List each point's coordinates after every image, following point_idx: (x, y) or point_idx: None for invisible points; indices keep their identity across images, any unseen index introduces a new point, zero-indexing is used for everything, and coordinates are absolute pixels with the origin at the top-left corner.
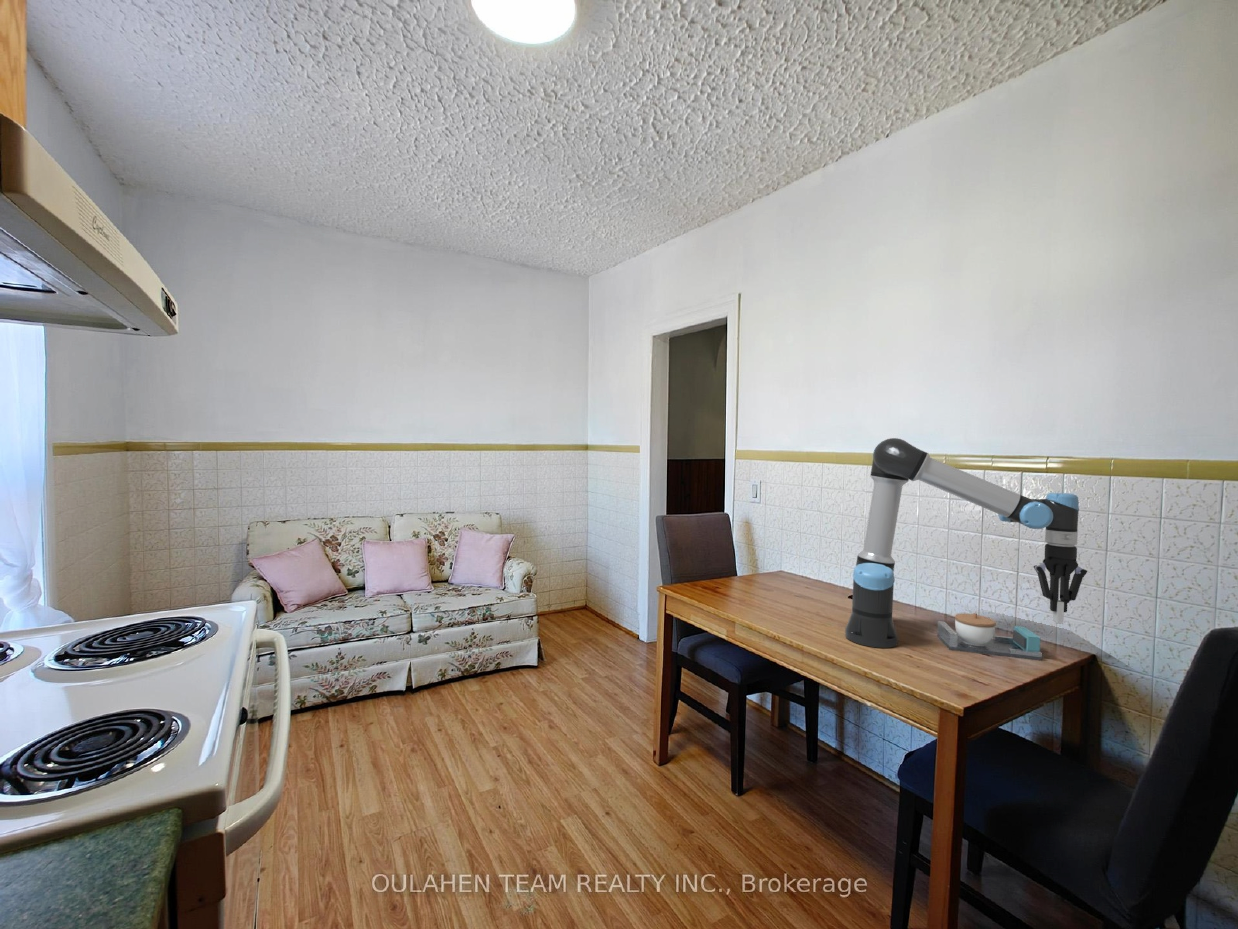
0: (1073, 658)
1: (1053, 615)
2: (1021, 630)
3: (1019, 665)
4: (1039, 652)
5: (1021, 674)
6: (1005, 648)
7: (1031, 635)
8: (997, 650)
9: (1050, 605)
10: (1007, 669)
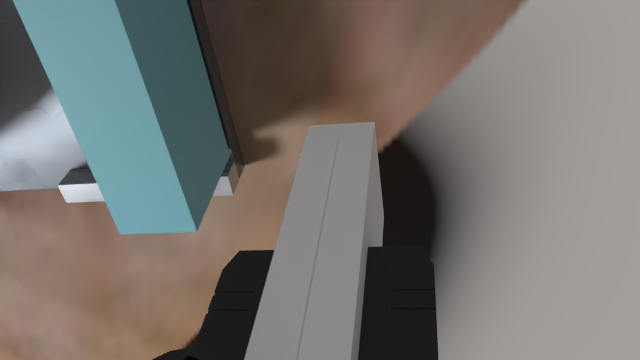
0: (477, 25)
1: (299, 177)
2: (67, 95)
3: (131, 270)
4: (220, 189)
5: (137, 353)
6: (45, 102)
7: (140, 205)
8: (11, 164)
9: (210, 324)
10: (87, 325)
